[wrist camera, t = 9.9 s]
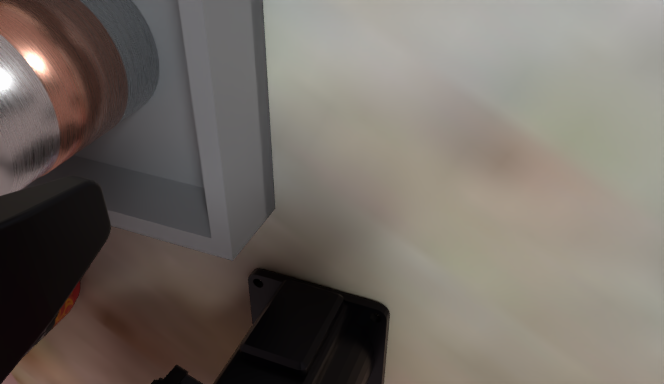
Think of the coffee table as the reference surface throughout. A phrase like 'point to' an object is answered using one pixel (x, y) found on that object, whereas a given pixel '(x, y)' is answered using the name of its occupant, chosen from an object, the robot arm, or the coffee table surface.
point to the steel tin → (67, 79)
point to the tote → (192, 133)
